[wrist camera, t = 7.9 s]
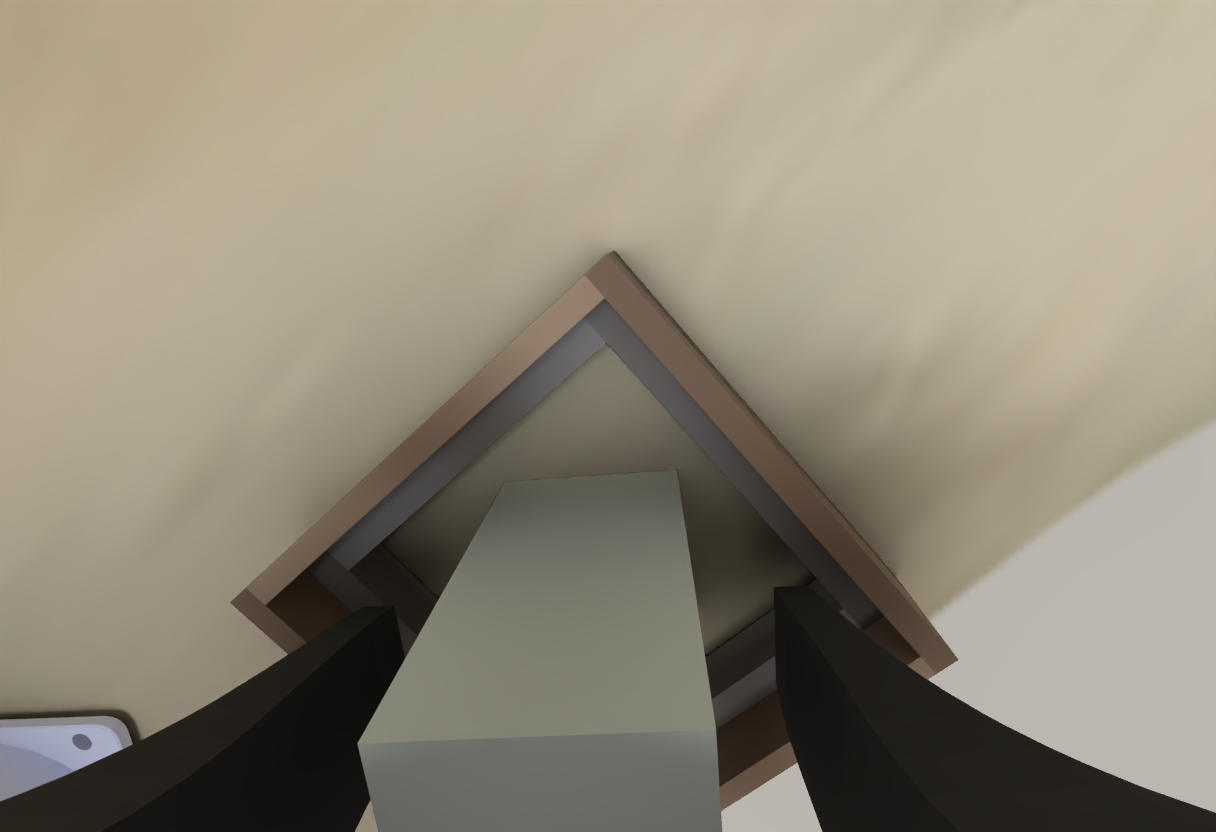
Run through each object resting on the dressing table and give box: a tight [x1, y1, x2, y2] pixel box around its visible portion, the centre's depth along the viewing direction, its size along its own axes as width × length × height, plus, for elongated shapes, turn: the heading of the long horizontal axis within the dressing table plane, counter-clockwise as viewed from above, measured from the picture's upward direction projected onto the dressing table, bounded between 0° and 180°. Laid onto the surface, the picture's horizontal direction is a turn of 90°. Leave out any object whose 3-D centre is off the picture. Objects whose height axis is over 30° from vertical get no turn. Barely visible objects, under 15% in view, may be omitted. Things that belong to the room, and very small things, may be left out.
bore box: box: [230, 251, 958, 811], centre depth 14 cm, size 10×10×3 cm
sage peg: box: [358, 470, 722, 832], centre depth 11 cm, size 4×4×8 cm
